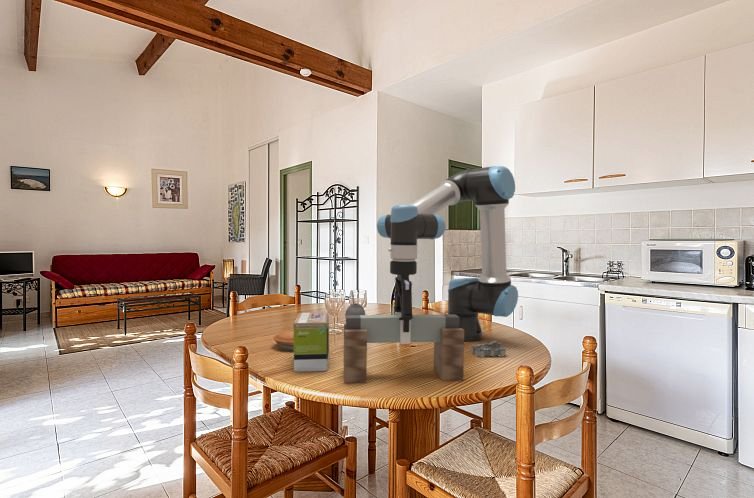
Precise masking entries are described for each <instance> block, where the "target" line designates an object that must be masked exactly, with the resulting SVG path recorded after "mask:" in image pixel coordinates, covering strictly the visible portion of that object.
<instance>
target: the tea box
mask: <svg viewBox="0 0 754 498" xmlns="http://www.w3.org/2000/svg"><path fill="white" fill-rule="evenodd" d="M292 327H293V329H292V330H293V332H294V351H293V371H294V372H296V373H298V372H300V373H301V372H302V373H303V372H304V373H305V372H307V373H308V372H327V371H328V366H329V361H330V359H329V357H330V319H329V312H328V311H327V312H325V311H324V312H298V313H297V315H296V319H295V320H294V322H293V326H292Z"/></svg>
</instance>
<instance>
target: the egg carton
mask: <svg viewBox="0 0 754 498" xmlns="http://www.w3.org/2000/svg"><path fill="white" fill-rule="evenodd" d="M470 347H471V354H474V353H475V354H474V355H475V357H478V356H479V358H484V357H489V356H494V355H500V356H503V355H505V356H506V351H507V348H506V347H505V346H503V345H502V343H500V340H492V341H490V342H488V343H487V342H486V343H482V344H480V343H479V344H470ZM500 356H499V357H500ZM494 357H495V356H494ZM503 357H504V356H503Z"/></svg>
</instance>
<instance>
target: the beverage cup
mask: <svg viewBox="0 0 754 498" xmlns="http://www.w3.org/2000/svg"><path fill="white" fill-rule="evenodd" d="M354 297H355V296H354V291H353V290H352V291H351V298H352V304H349V305H348V307H347V308H346V310H345V314H344V316H345V317H346V315H367V314H366V310H365V308H364V307H363V306H362V305H361V304H359V303H355V298H354Z"/></svg>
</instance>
